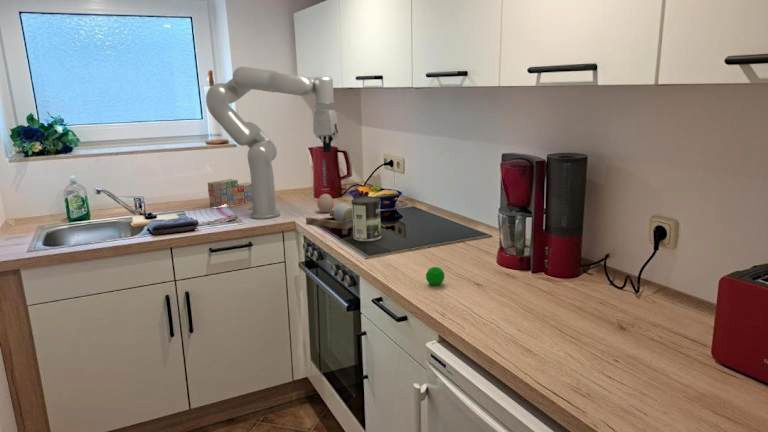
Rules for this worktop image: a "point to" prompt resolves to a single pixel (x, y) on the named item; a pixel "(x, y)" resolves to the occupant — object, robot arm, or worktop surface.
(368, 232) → the coffee can
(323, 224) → the brown flat slab
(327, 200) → the egg
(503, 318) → the worktop surface
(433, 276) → the green ball
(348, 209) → the light bulb
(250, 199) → the stack of blocks
